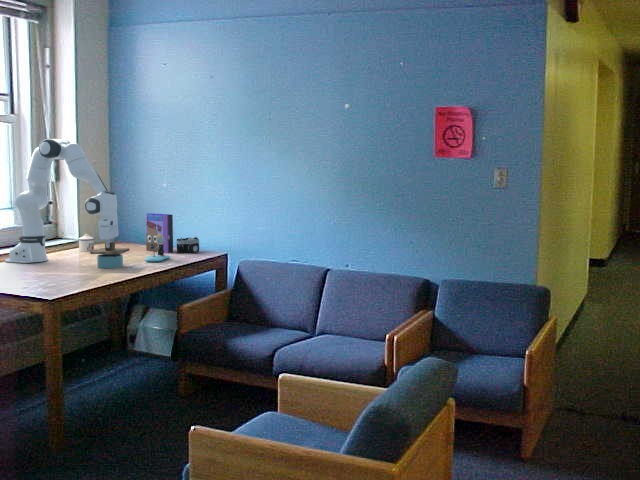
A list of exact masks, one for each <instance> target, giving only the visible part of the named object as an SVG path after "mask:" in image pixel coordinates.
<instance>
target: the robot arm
mask: <svg viewBox="0 0 640 480" xmlns="http://www.w3.org/2000/svg"><path fill="white" fill-rule="evenodd" d="M54 160H57V161H60V160H61V161H62V160H64V162H65V164H66V167H67V169H68V171H69V173H70V175H71V176H72V177H73V178H75V179H78V180H81V181H83V182H86V183H87V184H89V185H90V186H92V188H93V190H94V192H95V193H96V195H94V196H91V197H88V198H87V199H86V200H85V202H84V206H85V207H84V208H85V210H86V212H87V214H89V215H93V216H95V215H96V216H97V215H100V216H99V217H100V219H99V220H98V222H97V226H98V227H99V228H98V234H99V239H100V241H104V244H105V243H106V248H110V243H109V242H115V239H116V238H117V237H119V235H120V234H119V232H120V231H119V223H118V221H119V220H118V216H119V215H118V211H117V210H118V197H117V194H116V193H115V192H114V191H112V190H108V188H107V187H106V185H105V183H104V182H103V180H102V178H101V176H100V175H99V174H98V172H97V171H96V170H95V168H93V167H92V165H91V164H90V162H89V160H88V158H87V156H86V154H85V152H84V151H83V149H82V147H81V146H80V145H79V144H78V143H76V142H70V141H69V140H65V139H61V138H44V139H43V140H41V141H40V142H39V144H38V147H36V148H35V149H34V151H33V153H32V155H31V159H30V161H29V166H28V170H27V174H26V181H27V191H23V192H21V193H19V194H18V195H17V196H16V197H15V201H14V204H15V206H16V208H17V209H18V212H19V214H20V217H21V222H22V223H21V224H22V236H20V237H18V241H19V242H18V243H17V244H16V245H14V247H12V249H10V251H9V254H8V255H9V256H8V258H5V260H4V262H5V263H21V264H22V263H23V264H28V263H39V262H47V261H49V258H48V255H47V252H46V236H45V226H44V220H43V218H42V216H41V213H40V210H43V209H44V208H46V207H47V206H48V204H49V201H50V198H49V195H48V181H49V177H50V171H51V167H52V163H53V161H54Z"/></svg>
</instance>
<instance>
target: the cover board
mask: <svg viewBox="0 0 640 480" xmlns="http://www.w3.org/2000/svg"><path fill="white" fill-rule="evenodd" d="M109 243H110V248H106V243H105V242H104V247H100V248H97V249H94V251H91V252H89V253H90V255H102V254H122V255H123V254H125V253H127V252H129V251H130V248H128V247H127V248H126V247H125V248H124V247H123V248H119V247H117V248H116V242H115V241H114V242H110V241H109Z"/></svg>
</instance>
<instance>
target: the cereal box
mask: <svg viewBox="0 0 640 480" xmlns="http://www.w3.org/2000/svg"><path fill="white" fill-rule="evenodd" d="M173 218H174V217H173V214H170V213H169V214H167V213H151V212H149V213H145V238H148V240H149V241H148V242H145V246H146V247H145V248H146V252H152V251H153V252H152V253H156V252H157V253H158V250H159V248H158V246H159V245H157V242H158V241H156V236H157V235H158V234H161V235H162V238H165V240H166V242H164V243H163V244H164V245H163V246H165V247H164V248H163V249H164V254H172V253H174V228H173V226H174V223H173ZM154 238H155V239H154ZM152 242H153V243H154V244H153V243H152ZM150 246H151V247H150ZM156 247H157V248H156ZM155 248H156V250H155ZM154 250H155V252H154Z"/></svg>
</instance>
